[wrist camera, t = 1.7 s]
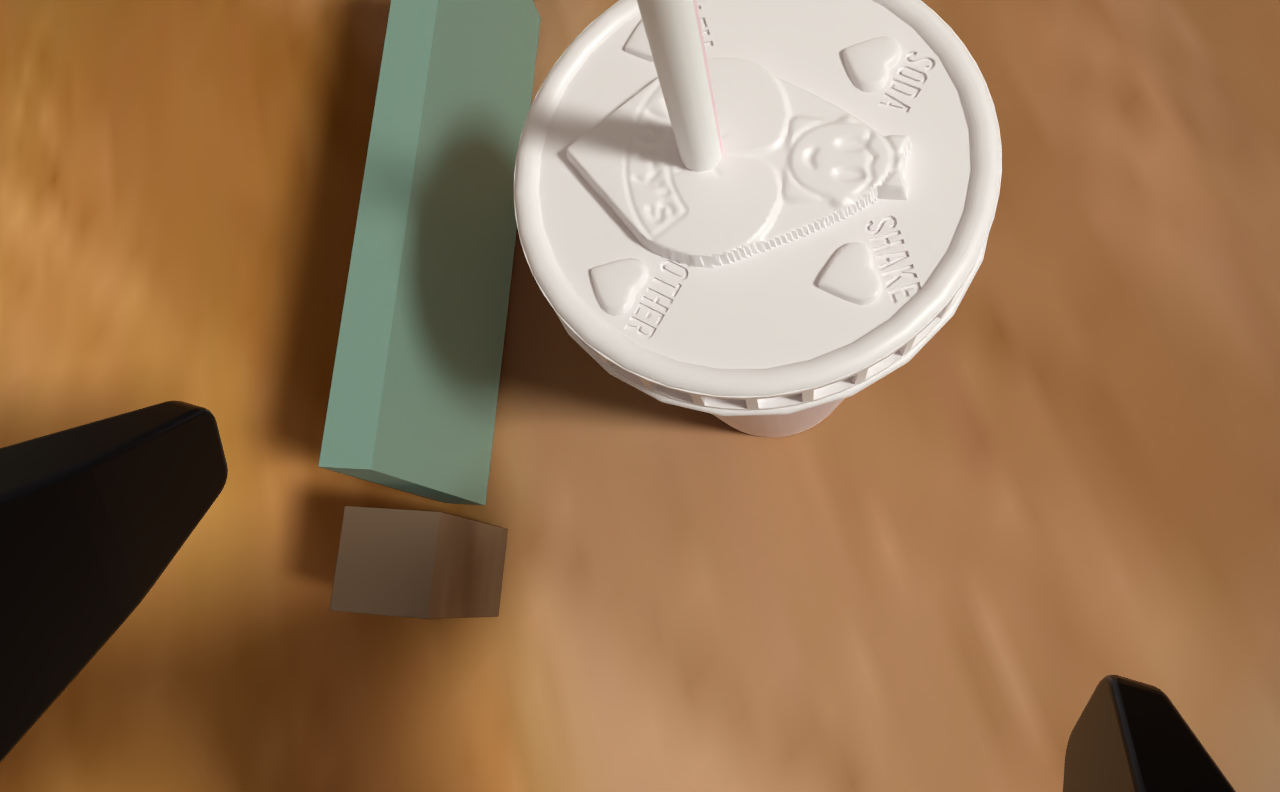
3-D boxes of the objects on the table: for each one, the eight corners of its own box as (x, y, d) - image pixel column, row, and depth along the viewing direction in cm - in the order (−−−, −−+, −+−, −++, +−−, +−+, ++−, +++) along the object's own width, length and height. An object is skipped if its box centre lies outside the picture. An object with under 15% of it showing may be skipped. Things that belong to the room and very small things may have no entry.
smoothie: (656, 225, 22) (420, -376, 8) (924, 239, 21) (1148, -445, 7) (620, 480, 21) (275, 246, 7) (905, 512, 19) (1132, 301, 6)
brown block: (498, 616, 20) (347, 621, 14) (417, 609, 21) (231, 611, 14) (590, -244, 26) (514, -544, 19) (524, -236, 26) (427, -528, 19)
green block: (485, 505, 21) (371, 469, 15) (408, 500, 21) (269, 463, 16) (541, 18, 24) (461, -160, 18) (471, 21, 24) (373, -152, 18)
